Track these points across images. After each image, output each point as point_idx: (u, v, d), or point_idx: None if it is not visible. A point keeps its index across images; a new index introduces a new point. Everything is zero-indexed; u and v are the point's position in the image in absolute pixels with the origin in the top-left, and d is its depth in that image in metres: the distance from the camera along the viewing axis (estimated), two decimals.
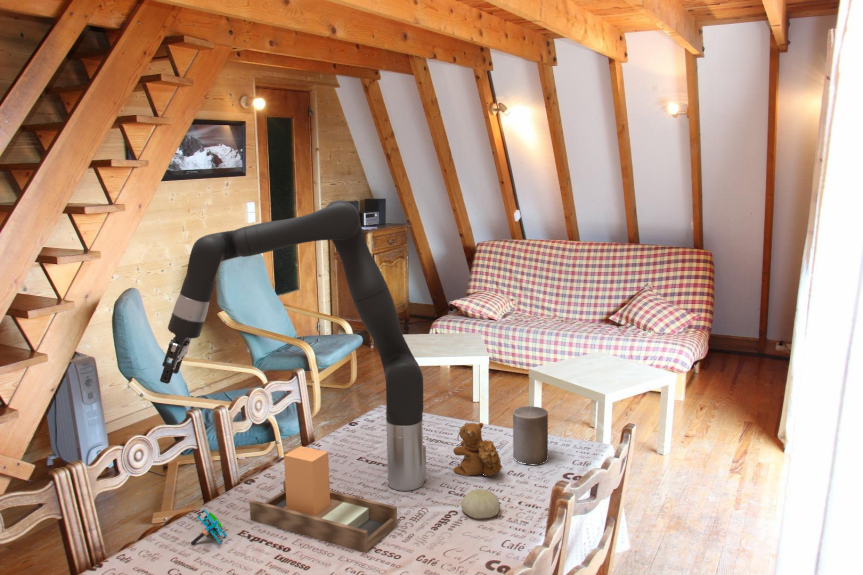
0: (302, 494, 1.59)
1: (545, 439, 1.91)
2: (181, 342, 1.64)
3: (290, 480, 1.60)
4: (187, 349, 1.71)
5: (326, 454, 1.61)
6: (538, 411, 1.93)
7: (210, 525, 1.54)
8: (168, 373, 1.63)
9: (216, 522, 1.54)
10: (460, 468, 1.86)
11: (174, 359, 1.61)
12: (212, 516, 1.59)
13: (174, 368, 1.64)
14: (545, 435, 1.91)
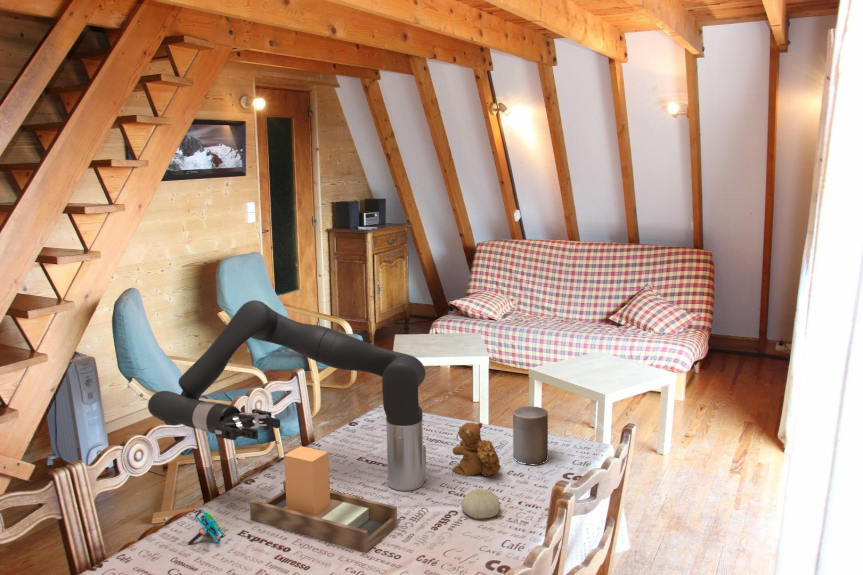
0: (302, 494, 1.59)
1: (545, 439, 1.91)
2: (222, 424, 1.66)
3: (290, 480, 1.60)
4: (253, 413, 1.70)
5: (326, 454, 1.61)
6: (538, 411, 1.93)
7: (207, 525, 1.54)
8: (244, 432, 1.62)
9: (213, 521, 1.54)
10: (459, 468, 1.86)
11: (225, 430, 1.62)
12: (208, 516, 1.59)
13: (242, 427, 1.63)
14: (545, 435, 1.91)
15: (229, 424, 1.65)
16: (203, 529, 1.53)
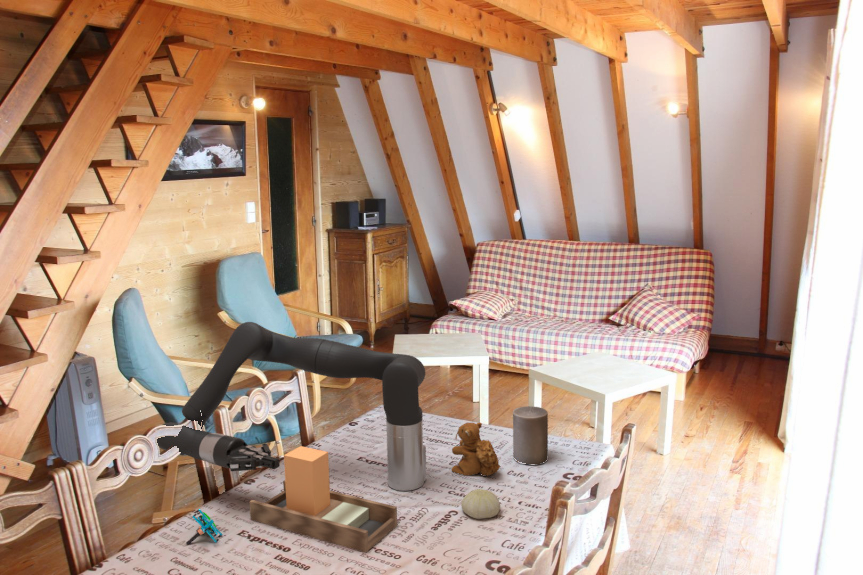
0: (302, 494, 1.59)
1: (545, 439, 1.91)
2: (230, 458, 1.66)
3: (290, 480, 1.60)
4: (256, 449, 1.69)
5: (326, 454, 1.61)
6: (538, 411, 1.93)
7: (205, 524, 1.54)
8: (264, 462, 1.65)
9: (211, 521, 1.54)
10: (458, 467, 1.86)
11: (245, 461, 1.64)
12: (206, 516, 1.59)
13: (262, 456, 1.66)
14: (545, 435, 1.91)
15: None
16: (201, 529, 1.53)
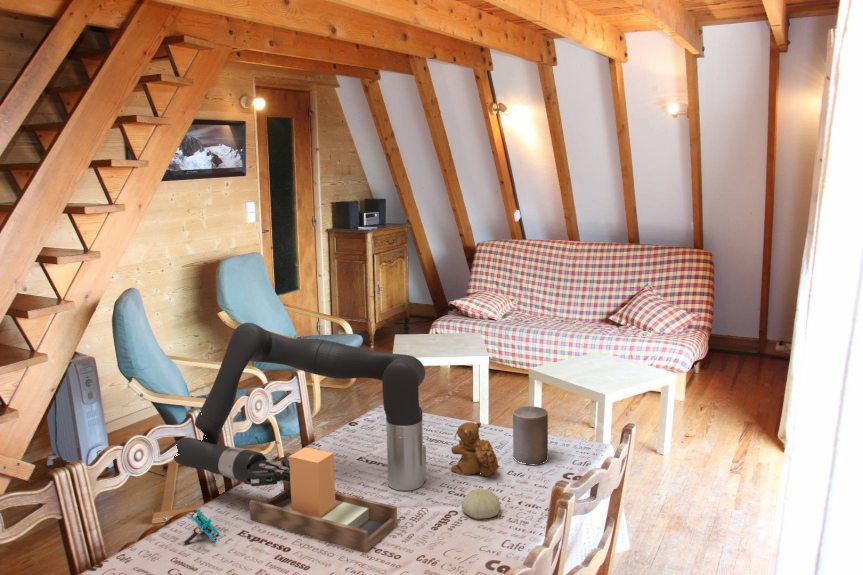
0: (307, 495, 1.58)
1: (545, 439, 1.91)
2: (251, 473, 1.64)
3: (295, 481, 1.59)
4: (277, 463, 1.67)
5: (331, 455, 1.60)
6: (538, 411, 1.93)
7: (203, 524, 1.54)
8: (285, 476, 1.63)
9: (209, 521, 1.54)
10: (457, 467, 1.87)
11: (265, 476, 1.62)
12: (203, 515, 1.59)
13: (283, 470, 1.64)
14: (545, 435, 1.91)
15: (258, 471, 1.65)
16: (199, 528, 1.53)
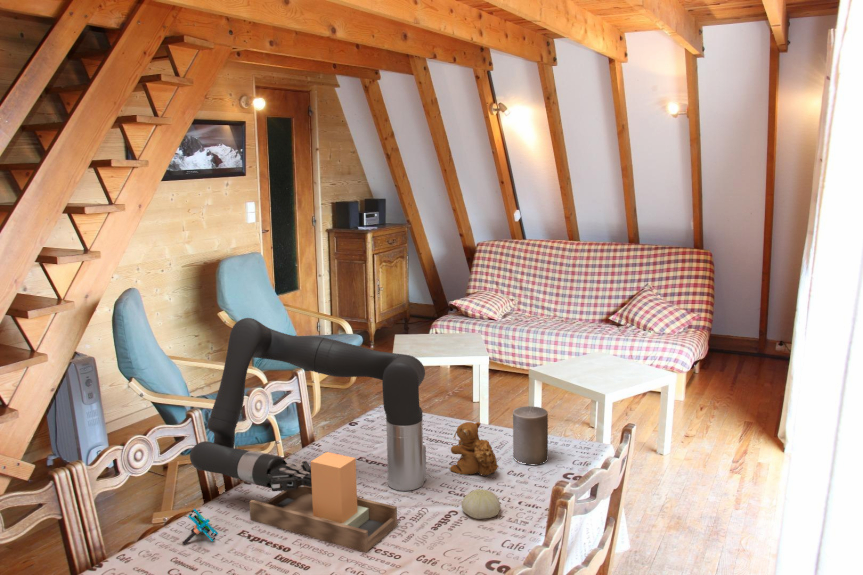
0: (329, 501, 1.55)
1: (545, 439, 1.91)
2: (271, 477, 1.61)
3: (317, 487, 1.56)
4: (297, 467, 1.64)
5: (354, 460, 1.57)
6: (538, 411, 1.93)
7: (201, 524, 1.54)
8: (306, 481, 1.60)
9: (207, 520, 1.54)
10: (456, 467, 1.87)
11: (286, 481, 1.59)
12: None
13: (303, 475, 1.61)
14: (545, 435, 1.91)
15: (279, 476, 1.62)
16: (197, 528, 1.53)
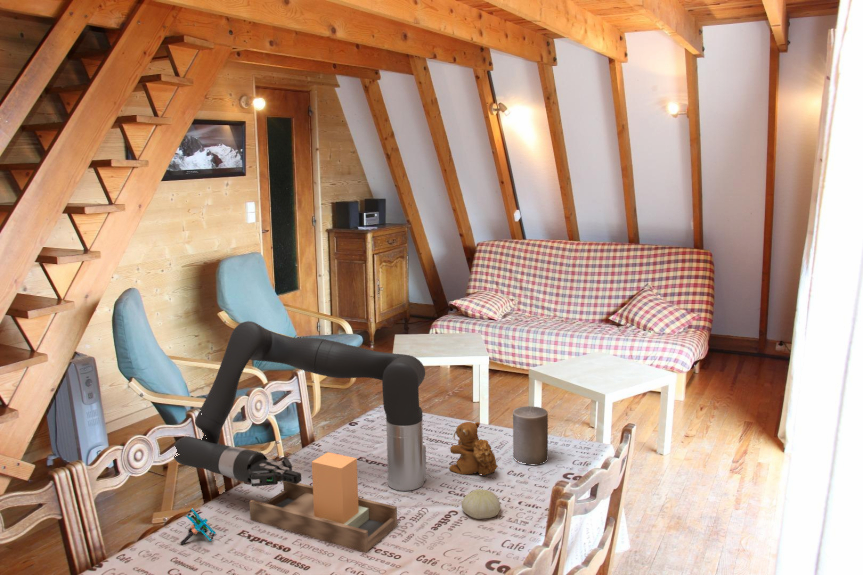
0: (330, 501, 1.55)
1: (545, 439, 1.91)
2: (251, 473, 1.64)
3: (318, 487, 1.56)
4: (277, 463, 1.67)
5: (355, 460, 1.57)
6: (538, 411, 1.93)
7: (199, 524, 1.54)
8: (286, 477, 1.62)
9: (205, 520, 1.55)
10: (456, 466, 1.87)
11: (266, 476, 1.61)
12: None
13: (283, 470, 1.64)
14: (545, 435, 1.91)
15: (259, 471, 1.64)
16: (195, 528, 1.53)
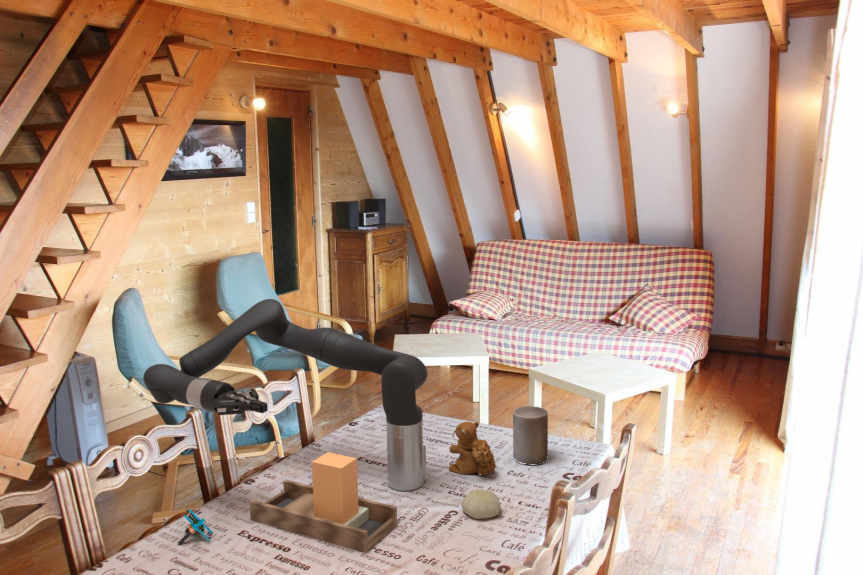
0: (330, 501, 1.55)
1: (545, 439, 1.91)
2: (218, 402, 1.65)
3: (318, 487, 1.56)
4: (244, 394, 1.68)
5: (355, 460, 1.57)
6: (538, 411, 1.93)
7: (196, 523, 1.54)
8: (252, 406, 1.63)
9: (202, 520, 1.55)
10: (455, 466, 1.87)
11: (232, 405, 1.62)
12: None
13: (250, 400, 1.65)
14: (545, 435, 1.91)
15: None
16: (192, 528, 1.54)
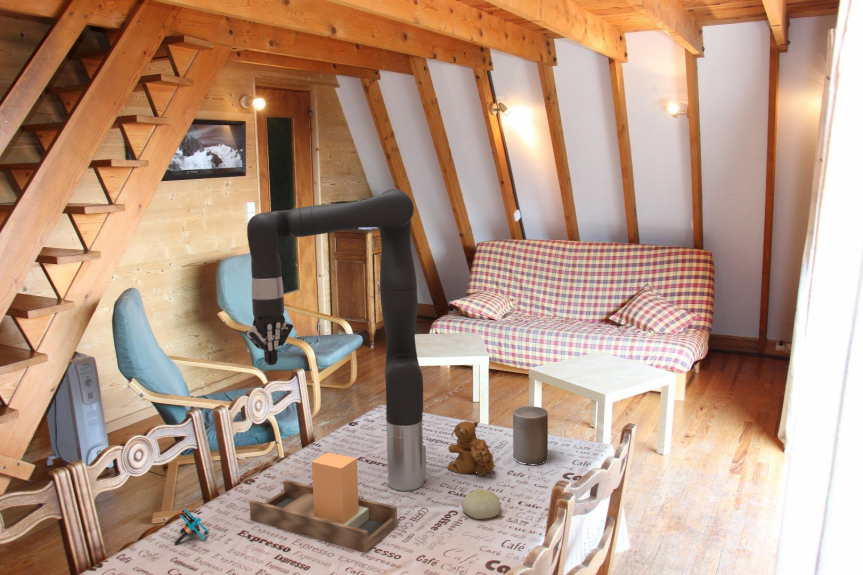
0: (330, 501, 1.55)
1: (545, 439, 1.91)
2: (256, 325, 1.67)
3: (318, 487, 1.56)
4: (278, 335, 1.71)
5: (355, 460, 1.57)
6: (538, 411, 1.93)
7: (192, 523, 1.55)
8: (266, 355, 1.71)
9: (199, 519, 1.55)
10: (454, 465, 1.88)
11: (257, 344, 1.68)
12: None
13: (272, 348, 1.71)
14: (545, 435, 1.91)
15: (261, 328, 1.69)
16: (189, 528, 1.54)
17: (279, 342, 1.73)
